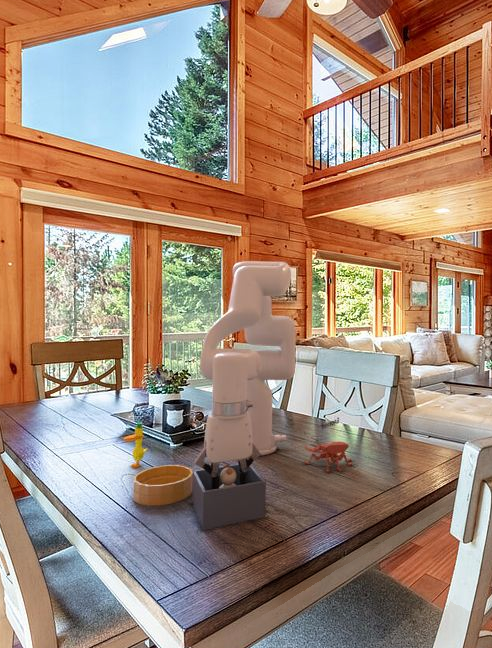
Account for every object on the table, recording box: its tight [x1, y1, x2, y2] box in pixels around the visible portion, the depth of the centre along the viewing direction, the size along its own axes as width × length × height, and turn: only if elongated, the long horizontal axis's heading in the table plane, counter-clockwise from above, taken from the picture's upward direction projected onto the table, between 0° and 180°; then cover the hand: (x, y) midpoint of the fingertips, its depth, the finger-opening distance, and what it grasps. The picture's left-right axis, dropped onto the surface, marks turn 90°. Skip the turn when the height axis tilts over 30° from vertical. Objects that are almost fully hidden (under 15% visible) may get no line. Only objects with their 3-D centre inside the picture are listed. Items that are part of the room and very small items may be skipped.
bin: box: [191, 463, 267, 531], centre depth 100 cm, size 13×13×8 cm
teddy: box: [219, 463, 236, 488], centre depth 100 cm, size 5×5×9 cm
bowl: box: [132, 464, 194, 507], centre depth 107 cm, size 13×13×5 cm
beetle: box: [303, 417, 354, 473], centre depth 131 cm, size 15×12×13 cm
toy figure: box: [122, 422, 148, 469], centre depth 126 cm, size 7×4×12 cm, turn 138°
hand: (227, 489), depth 100 cm, fingers closed on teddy, 4 cm apart
